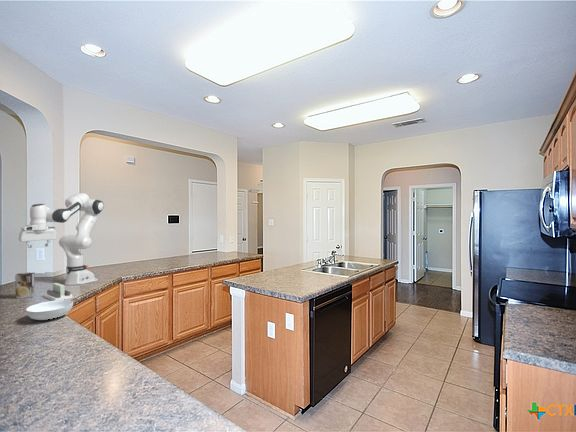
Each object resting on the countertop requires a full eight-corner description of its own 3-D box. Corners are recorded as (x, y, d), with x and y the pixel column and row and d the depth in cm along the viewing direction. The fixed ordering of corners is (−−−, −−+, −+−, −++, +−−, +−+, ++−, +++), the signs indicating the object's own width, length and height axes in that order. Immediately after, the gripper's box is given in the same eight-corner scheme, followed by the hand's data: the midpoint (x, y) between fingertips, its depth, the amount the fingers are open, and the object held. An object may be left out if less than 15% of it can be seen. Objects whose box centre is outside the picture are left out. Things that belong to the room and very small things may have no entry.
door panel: (56, 292, 206) (56, 282, 206) (64, 295, 200) (64, 285, 200) (52, 293, 204) (52, 283, 204) (60, 296, 198) (60, 286, 198)
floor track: (61, 293, 211) (61, 287, 211) (72, 297, 202) (72, 291, 202) (44, 297, 202) (44, 290, 202) (55, 301, 193) (55, 294, 193)
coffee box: (35, 294, 207) (35, 272, 207) (32, 297, 201) (32, 274, 201) (18, 296, 203) (18, 273, 202) (14, 299, 197) (14, 275, 197)
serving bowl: (67, 308, 182) (67, 297, 181) (78, 316, 168) (78, 304, 168) (22, 317, 165) (22, 305, 165) (30, 327, 152) (30, 314, 152)
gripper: (54, 226, 214) (54, 245, 215) (17, 227, 197) (17, 248, 197) (58, 226, 211) (58, 245, 211) (21, 228, 194) (21, 249, 194)
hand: (38, 247), depth 204 cm, fingers open, 8 cm apart
